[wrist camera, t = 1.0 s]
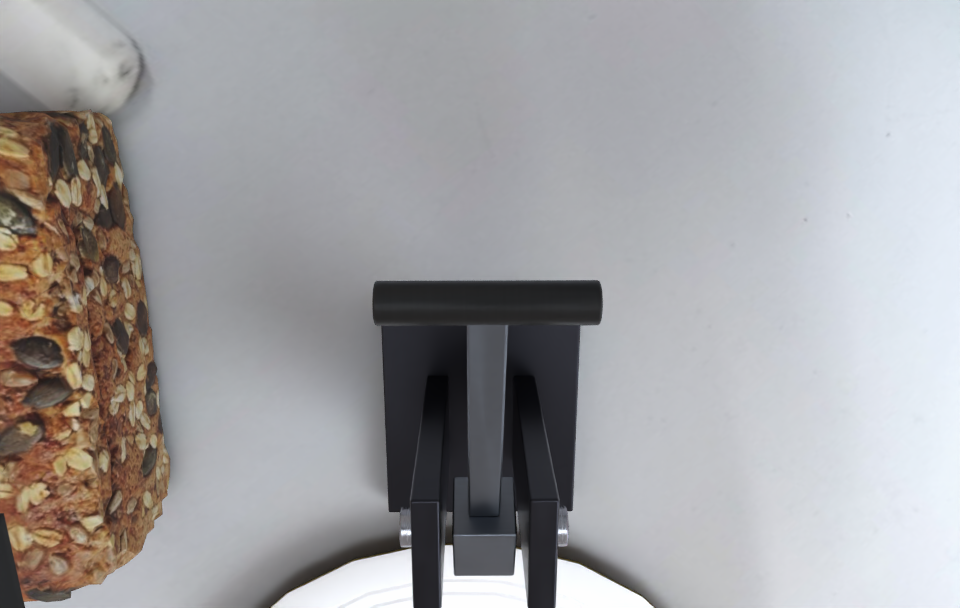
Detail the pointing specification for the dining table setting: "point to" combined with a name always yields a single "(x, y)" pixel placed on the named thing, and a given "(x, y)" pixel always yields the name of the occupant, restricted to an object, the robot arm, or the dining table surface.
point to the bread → (73, 358)
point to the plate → (452, 586)
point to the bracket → (444, 443)
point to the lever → (486, 390)
